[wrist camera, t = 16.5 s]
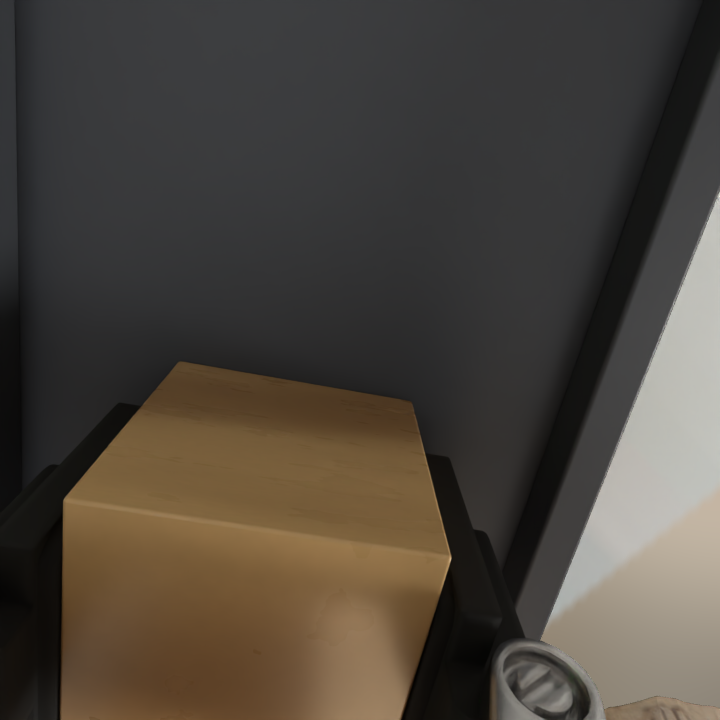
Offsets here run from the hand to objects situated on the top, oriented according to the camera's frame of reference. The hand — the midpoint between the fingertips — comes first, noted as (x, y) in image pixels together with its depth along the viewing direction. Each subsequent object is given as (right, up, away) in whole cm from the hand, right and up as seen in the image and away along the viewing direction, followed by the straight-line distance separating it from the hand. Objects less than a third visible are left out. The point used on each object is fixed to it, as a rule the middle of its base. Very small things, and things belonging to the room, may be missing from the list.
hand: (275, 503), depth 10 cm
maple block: (0, 0, +1) cm, 1 cm away
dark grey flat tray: (+1, +4, 0) cm, 4 cm away
